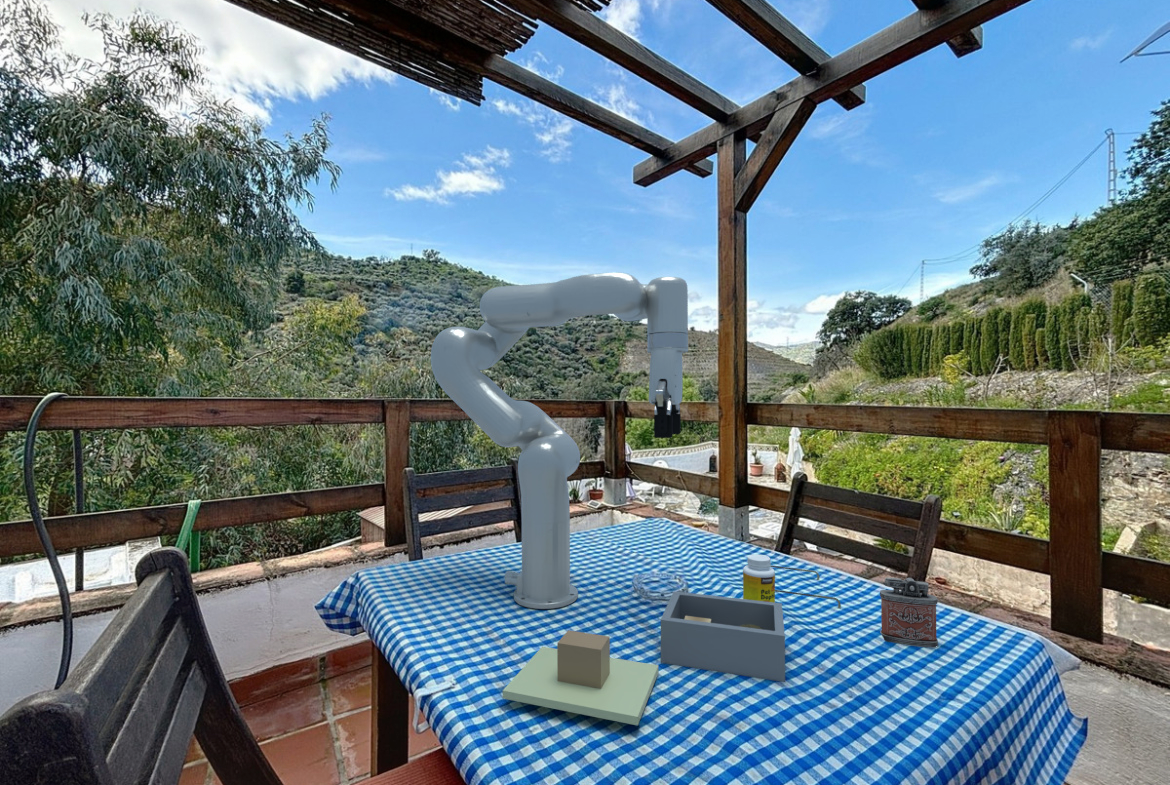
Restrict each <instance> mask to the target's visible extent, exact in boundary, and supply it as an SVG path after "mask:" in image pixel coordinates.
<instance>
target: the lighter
mask: <svg viewBox="0 0 1170 785" xmlns="http://www.w3.org/2000/svg"><path fill="white" fill-rule="evenodd" d="M884 586H885V587H888V588H893V589H881V590H879V596H880V598H881V599H880V601H881V602H880V603H881V607H880V608H881V612H880V613H881V614H880V615H881V629H880V632H879V633H880V634H881V636H882V638H883V640H884V641H885V642H888V643H893V644H898V645H904V646H910V647H912V646H913V647H921V648H937V647H938V646H939V643H938V642H939V640H938V638H937V604H938V597H937V596H935V595H933V594H930V593H929V582H926V581H918V580H917V581H916V580H914V579H913V578H912V577H906V578H905V579H902V578H898V577H888V576H887V577H885V578H884ZM900 589H901V590H900ZM928 593H929V594H928ZM936 646H937V647H936Z"/></svg>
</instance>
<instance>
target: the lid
mask: <svg viewBox="0 0 1170 785" xmlns="http://www.w3.org/2000/svg"><path fill="white" fill-rule="evenodd" d="M610 639H611V638H610V636H609V635H602V634H595V633H588V632H583V631H582V632H581V631H574V630H567V631H566V632H565V633H564V634H563V636H562V637H561V638H560V639H559V640H558V642H557V646H556V648H554V647H547V646H541V647H540V648H539V650H538V651H537V652H536V653H535V654H534V655H533V656H532V657H531V658H530V660H528V662H527V663H526V664H525V665H524V666H523V667H522V668H521V670H520V671H519V672H518V673H517V674H516V675H515V676H514V677H513V678H512V680H511V681H510V682H509V683H508V684H507V685H506V686H505V687H504V689H502V699H504V700H509V701H513V702H514V701H515V702H519V703H522V704H523V703H524V704H528V705H534V706H539V707H543V708H549V709H555V710H559V711H564V712H569V713H573V714H579V715H584V716H588V717H594V718H597V719H603V720H609V721H613V722H619V723H624V724H627V725H634V726H639V725H640V720H641V719H642V716H643V714H644V710H645V708H646V706H647V703H648V700H649V698H650V695H651V692H652V690H653V687H654V685H655V683H656V681H657V677H658V675H659V664H653V663H648V662H647V663H646V662H639V661H633V660H628V659H622V658H615V657H610V656H611V655H610V653H611V652H610V651H611V650H610V649H611V648H610V646H611V644H610V643H611V642H610V641H611V640H610Z"/></svg>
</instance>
